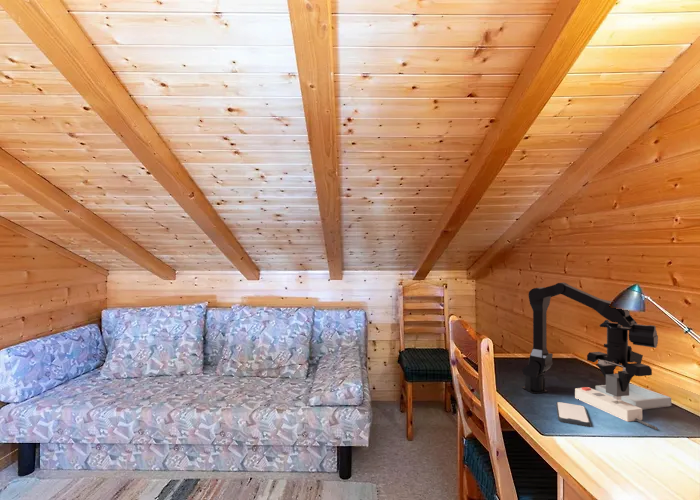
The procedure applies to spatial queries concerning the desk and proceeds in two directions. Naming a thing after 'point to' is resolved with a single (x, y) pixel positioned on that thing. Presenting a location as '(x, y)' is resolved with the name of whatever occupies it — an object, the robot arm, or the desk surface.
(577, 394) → the power strip
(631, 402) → the tray
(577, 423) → the phone case
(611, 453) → the desk surface
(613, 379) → the charger
